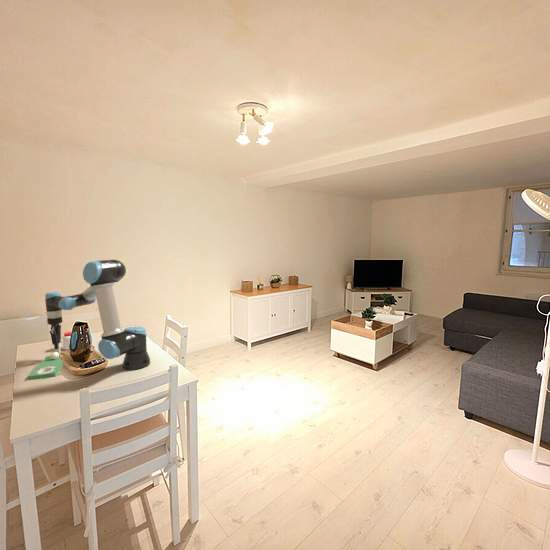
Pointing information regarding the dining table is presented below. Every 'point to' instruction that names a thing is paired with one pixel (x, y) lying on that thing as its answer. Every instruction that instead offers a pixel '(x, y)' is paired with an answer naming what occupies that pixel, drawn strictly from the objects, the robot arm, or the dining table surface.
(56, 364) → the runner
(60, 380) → the dining table surface
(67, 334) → the pill bottle
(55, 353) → the ball
